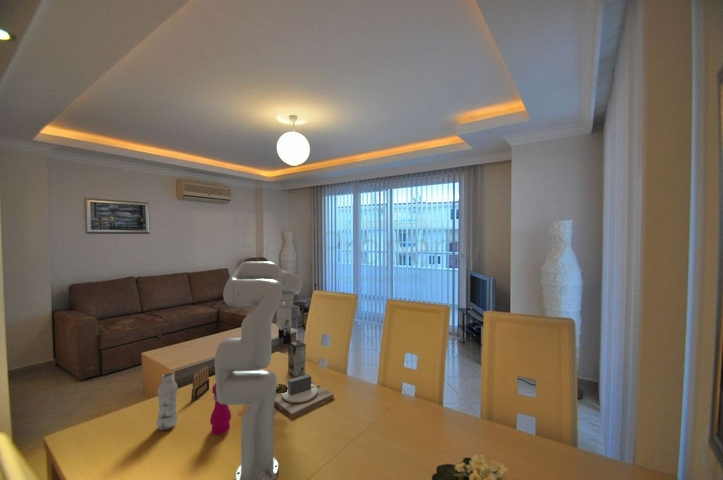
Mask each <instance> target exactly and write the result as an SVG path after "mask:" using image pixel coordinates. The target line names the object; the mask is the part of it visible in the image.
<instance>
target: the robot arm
mask: <svg viewBox="0 0 723 480" xmlns="http://www.w3.org/2000/svg"><path fill="white" fill-rule="evenodd" d="M302 288H303V282H302V279H301V277H300V276H299V275H298V273H293V272H289V271H286V270H282V268H280V267H279V265H278V264H277V263H275V262H272V261H243V262H242V263H240V264H239V265H238V266H237V267H236V268H235V270H234V271H233V273H232V274H231V276H230V277H229V279H227V281H226V284H225V286H224V288H223V293H222V294H223V295H222V296H223V300H224V302H225V304H226V305H227V306H230V307H253V308H252V310H251V311H249V312H248V314H247V315H246V317H244V319H243V320H242V322H241V325H240V327H241V328H240V330H241V337H228V338H225V339H223V340H221V341H220V343H219V344H218V346H217V347H216V352H215V356H214V374H215V375H214V376H215V383H216V395H217V400H218V402H219V403H220V404H223V405H228V406H235V405H236V406H237V405H244V406H245V405H246V406H248V407H247V409H246V410H245V411H244V413H243V415H242V417H241V423H240V424H241V425H240V426H241V428H240V429H241V432H240V434H241V436H240V438H241V439H240V440H241V441H240V449H241V450H240V465H239V466H238V468H237V469H236V472H235V477H234V479H235V480H275V479H276V478H277V475H278V473H279V469H280V468H279V466H280V465H279V462H278V460H277V459H276V457H274V456H275V455H274V451H275V449H274V447H275V446H274V445H275V443H274V442H275V440H274V439H275V438H274V437H275V433H274V432H275V423H274V422H275V405H274V403H275V395H276V390H277V389H278V376H277V375H276V373H275V372H273V371H272V370H267V369H266V368H268V366H269V365H270V363H271V360H272V350H273V349H272V348H273V347H272V323H273V319H274V316H275V314H276V323H275V324H276V327H277V328H278V330H277V331H278V336H277V337H278V338H279V339H283V341H282V344H283V345H288V344H290V343H291V340H292V339H291V338H292V330H291V329H292V326H293V325H292V324H293V323H292V319H293V318H292V317H293V316H292V315H293V314H292V307H293V306H294V296H295V295H299V294H300V293H301V291H302Z"/></svg>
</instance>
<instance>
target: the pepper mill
mask: <svg viewBox="0 0 723 480" xmlns="http://www.w3.org/2000/svg"><path fill="white" fill-rule="evenodd" d="M211 393H212V394H213V400H214V408H213V410H212V413H211V415H210V421H209V422H210V425H211V434H212V435H215V436H216V435H217V436H218V435H219V436H220V435H223V434H225V433H227V432H229V430H230V427H231V425H230V421H231V419H232V413H231V409H230V407H229V405H223V404H220V403H219V402H218V400H217V395H216V382H215V383H214V384H213V386H212V392H211Z"/></svg>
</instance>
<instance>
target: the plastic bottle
mask: <svg viewBox="0 0 723 480" xmlns="http://www.w3.org/2000/svg"><path fill="white" fill-rule="evenodd" d="M174 378H175V377H174V373H173V372H168V373H166V374H163V375H162V376H161V382H162V383H161V384H160V385H159V387H158V388H157V398H158V413H157V414H158V416H157V418H156V419H157V421H156V427H157V429H158V430H159V431H166V430H169V429H172V428H173V427H174V426H175V425H176V424H177V422H178V413H177V408H176V407H177V402H176V401H177V395H178V388H179V385H178V383H177V382H176V381H175V380H174Z"/></svg>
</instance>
